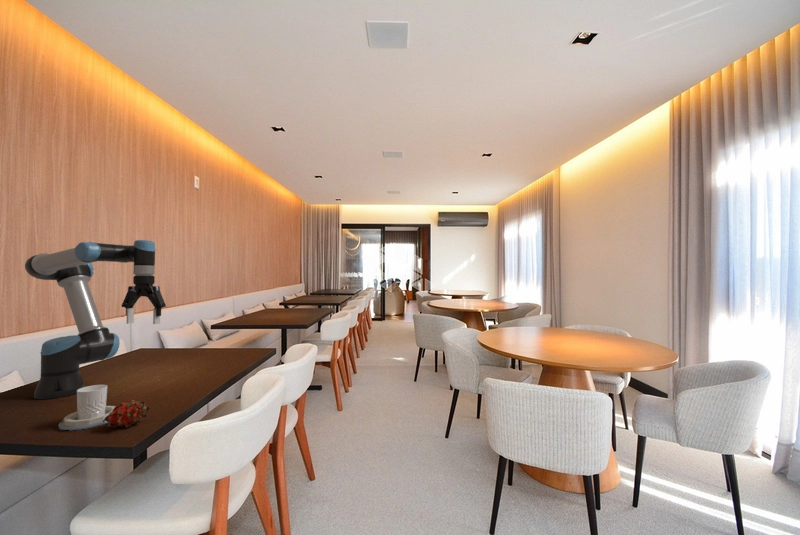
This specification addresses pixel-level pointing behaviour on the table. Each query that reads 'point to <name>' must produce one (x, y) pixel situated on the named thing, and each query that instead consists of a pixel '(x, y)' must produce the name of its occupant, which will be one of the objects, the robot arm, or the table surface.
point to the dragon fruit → (127, 414)
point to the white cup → (91, 401)
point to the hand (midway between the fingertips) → (143, 323)
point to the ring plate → (84, 421)
